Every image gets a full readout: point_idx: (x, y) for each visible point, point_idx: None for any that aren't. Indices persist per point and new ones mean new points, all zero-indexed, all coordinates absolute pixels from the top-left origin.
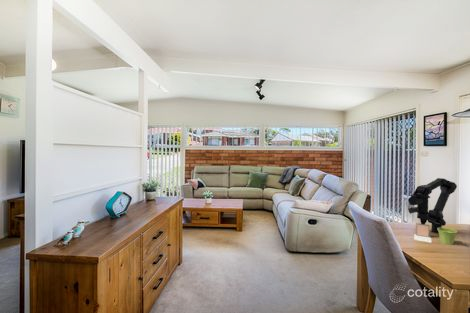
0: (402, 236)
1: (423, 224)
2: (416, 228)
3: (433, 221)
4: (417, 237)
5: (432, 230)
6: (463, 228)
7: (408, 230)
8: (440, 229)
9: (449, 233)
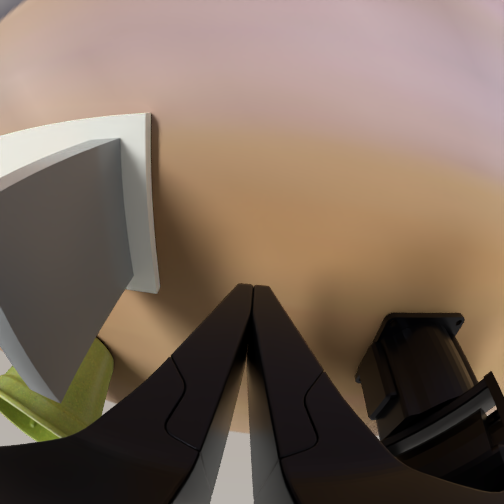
0: (18, 31)
1: (3, 336)
2: (17, 173)
3: (415, 451)
4: (25, 162)
5: (408, 338)
6: (487, 412)
7: (374, 51)
8: (54, 419)
9: (9, 409)
